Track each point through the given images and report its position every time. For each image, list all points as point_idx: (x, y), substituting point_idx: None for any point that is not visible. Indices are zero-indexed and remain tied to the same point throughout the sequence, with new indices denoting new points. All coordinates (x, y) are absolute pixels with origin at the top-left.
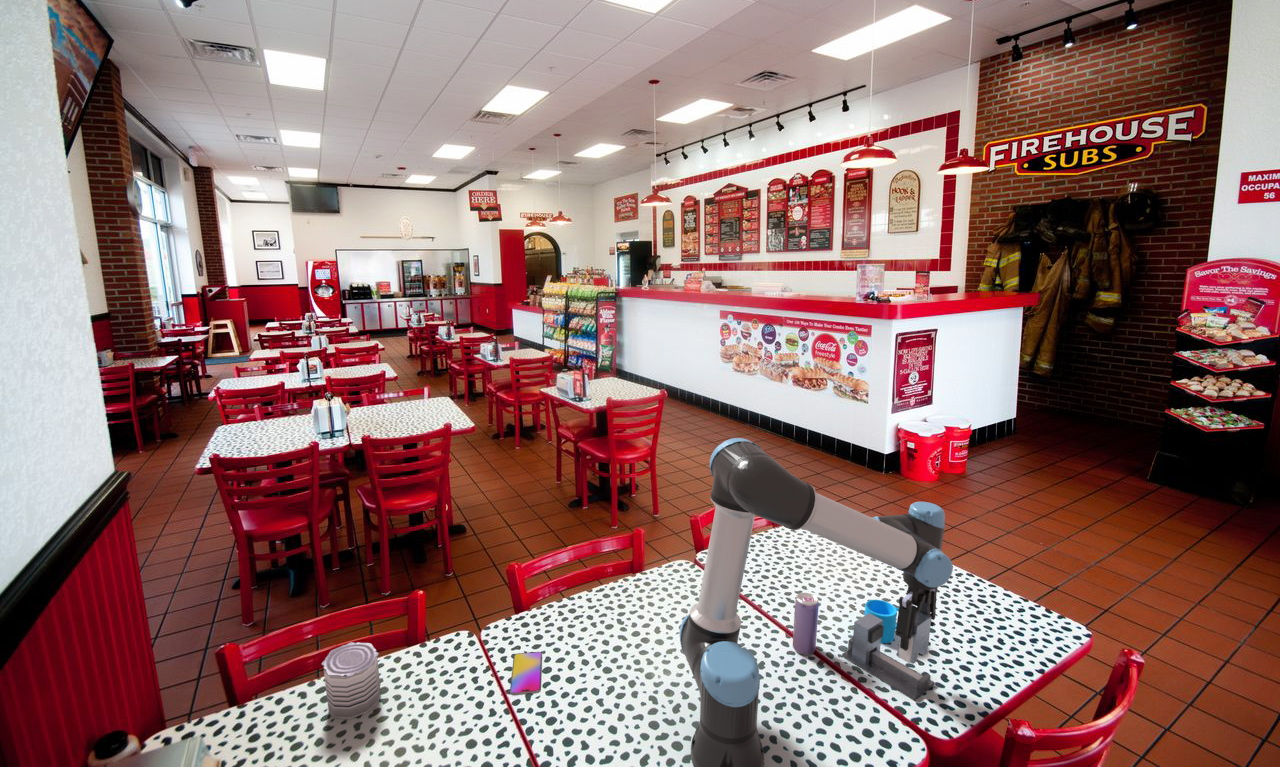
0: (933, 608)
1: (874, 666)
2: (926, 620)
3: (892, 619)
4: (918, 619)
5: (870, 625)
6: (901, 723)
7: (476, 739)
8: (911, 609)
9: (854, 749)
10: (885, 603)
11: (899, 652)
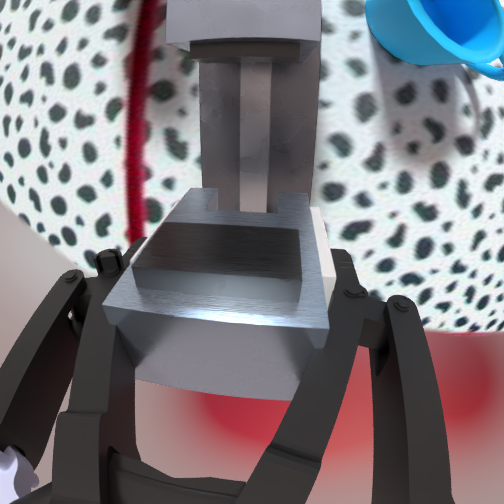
0: (375, 410)
1: (229, 82)
2: (240, 395)
3: (443, 54)
4: (203, 373)
5: (210, 25)
6: (123, 231)
7: None
8: (39, 454)
9: (28, 213)
10: (495, 16)
11: (171, 210)
